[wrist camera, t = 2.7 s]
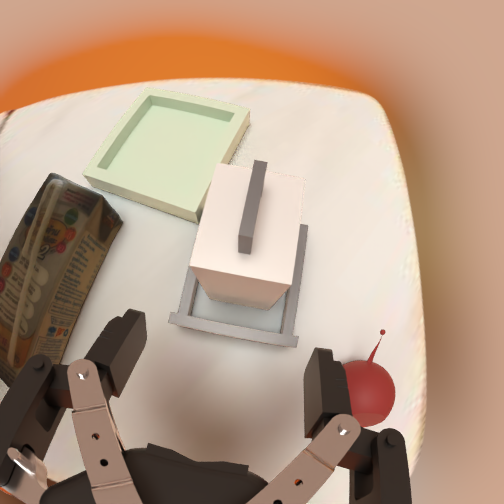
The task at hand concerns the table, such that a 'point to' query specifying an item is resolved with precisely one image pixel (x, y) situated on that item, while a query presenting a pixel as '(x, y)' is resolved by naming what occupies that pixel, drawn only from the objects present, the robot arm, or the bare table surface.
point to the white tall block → (248, 235)
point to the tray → (168, 151)
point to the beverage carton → (50, 271)
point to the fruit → (369, 390)
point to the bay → (280, 339)
